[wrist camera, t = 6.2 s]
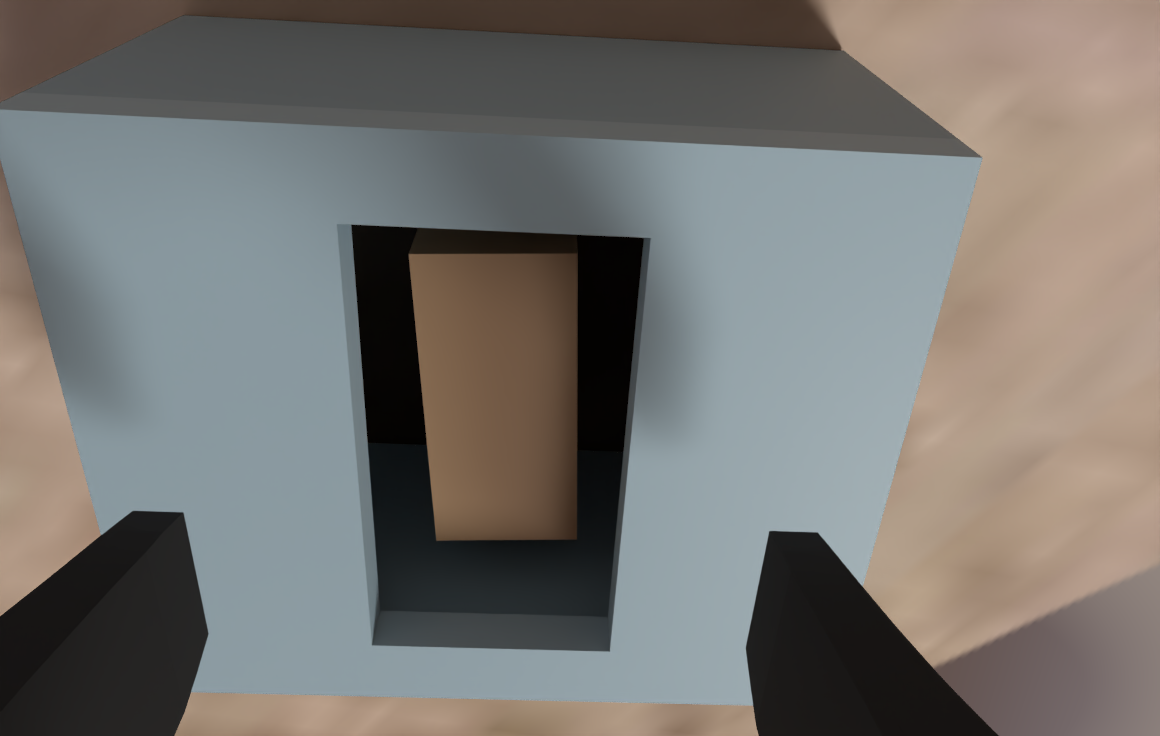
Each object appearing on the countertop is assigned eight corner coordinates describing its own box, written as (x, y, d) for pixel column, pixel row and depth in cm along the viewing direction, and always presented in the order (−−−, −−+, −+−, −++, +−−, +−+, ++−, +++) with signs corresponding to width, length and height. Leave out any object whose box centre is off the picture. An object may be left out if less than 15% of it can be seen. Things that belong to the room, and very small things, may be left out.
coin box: (252, 466, 21) (142, 690, 16) (183, 15, 16) (-13, 108, 11) (760, 483, 22) (828, 707, 16) (843, 50, 17) (982, 157, 11)
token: (462, 392, 21) (436, 540, 16) (445, 153, 18) (408, 254, 14) (573, 392, 21) (577, 539, 16) (573, 152, 18) (577, 253, 14)
